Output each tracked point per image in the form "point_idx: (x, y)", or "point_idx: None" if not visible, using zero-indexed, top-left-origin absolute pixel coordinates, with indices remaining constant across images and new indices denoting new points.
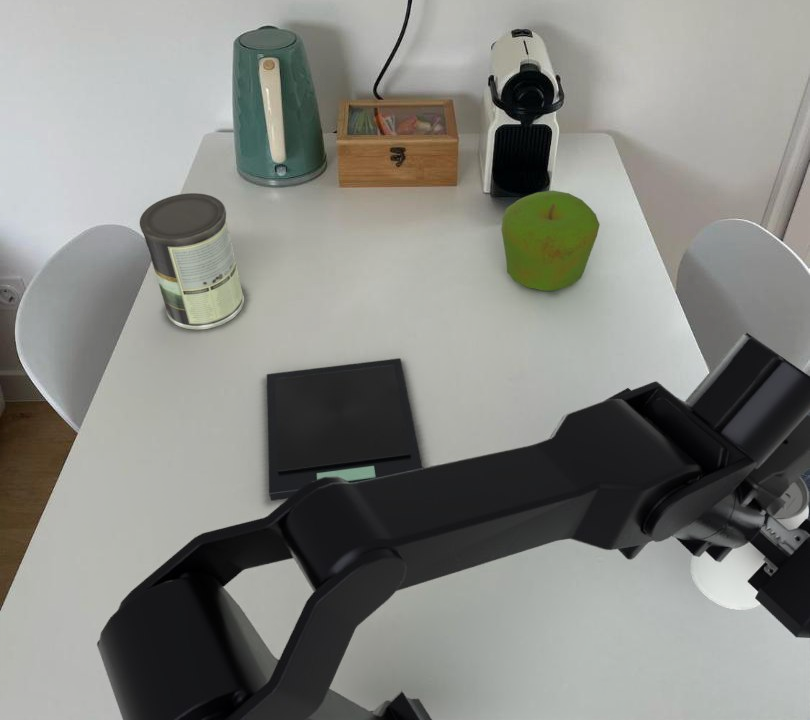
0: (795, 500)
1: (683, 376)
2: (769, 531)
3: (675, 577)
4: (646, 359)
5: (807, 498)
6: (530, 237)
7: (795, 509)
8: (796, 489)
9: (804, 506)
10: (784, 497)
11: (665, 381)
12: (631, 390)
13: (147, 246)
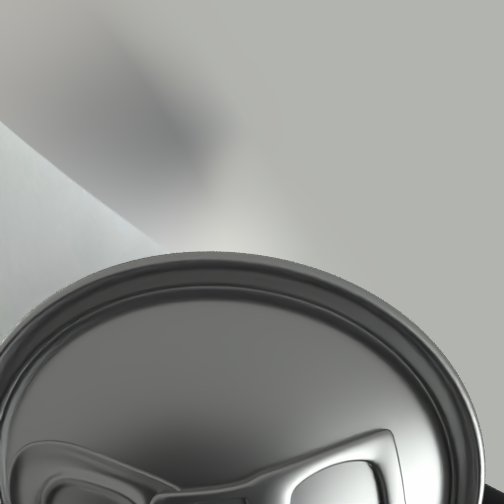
0: (403, 448)
1: (38, 178)
2: None
3: None
4: (8, 189)
5: (449, 380)
6: None
7: (440, 492)
8: (344, 365)
9: (478, 447)
10: (342, 491)
11: (27, 194)
12: None
13: None
